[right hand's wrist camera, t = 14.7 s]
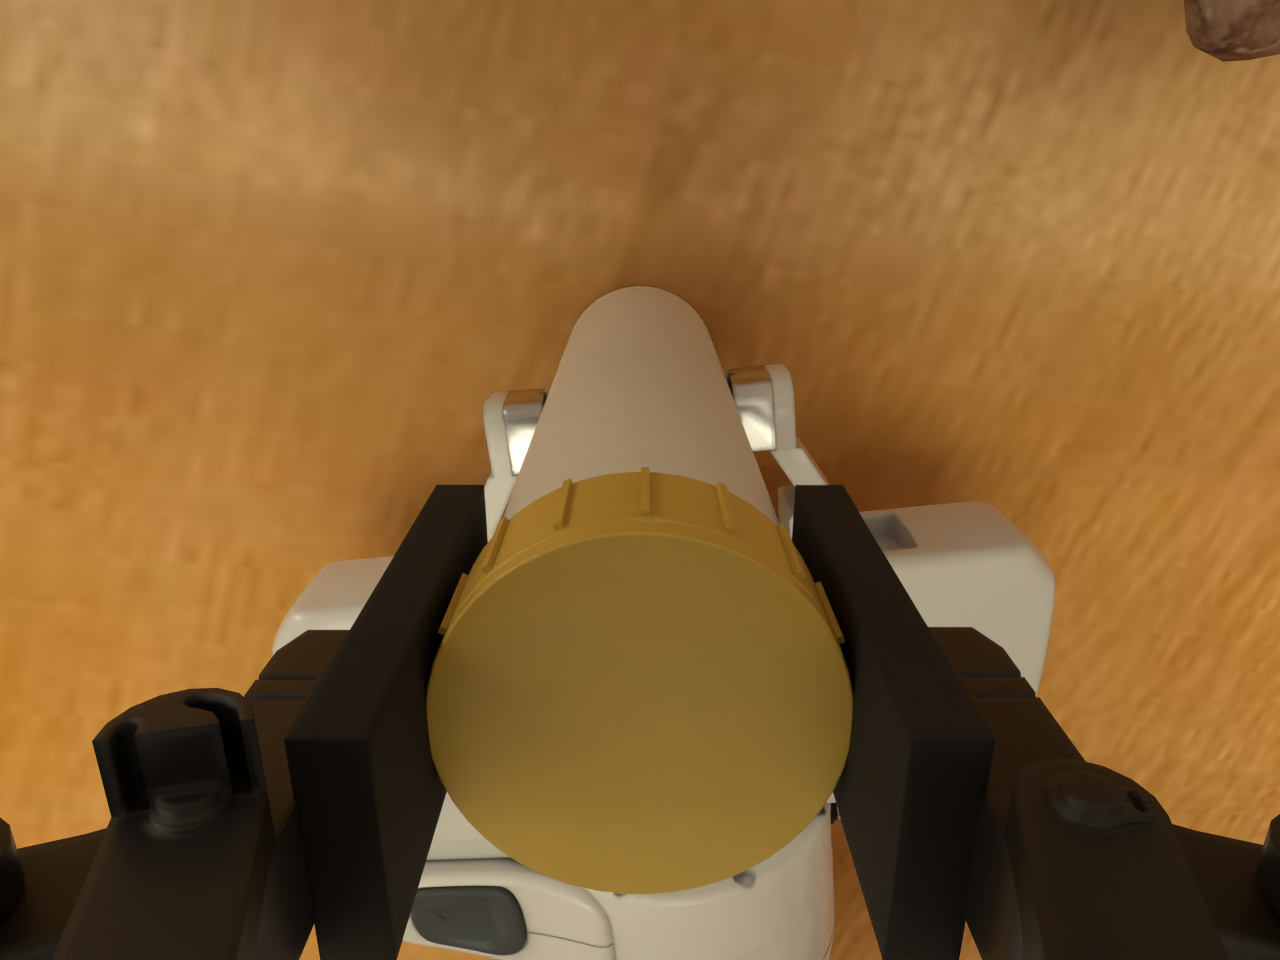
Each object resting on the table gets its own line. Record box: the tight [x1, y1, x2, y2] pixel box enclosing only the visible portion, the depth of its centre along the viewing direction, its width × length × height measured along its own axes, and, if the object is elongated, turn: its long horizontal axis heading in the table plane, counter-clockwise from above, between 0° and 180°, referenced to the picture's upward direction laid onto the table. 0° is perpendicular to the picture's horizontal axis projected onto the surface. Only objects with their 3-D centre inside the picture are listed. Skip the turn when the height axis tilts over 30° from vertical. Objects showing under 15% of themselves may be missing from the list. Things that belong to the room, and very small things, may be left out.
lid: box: [426, 467, 854, 894], centre depth 11 cm, size 5×5×2 cm
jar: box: [502, 286, 780, 526], centre depth 20 cm, size 5×5×19 cm
